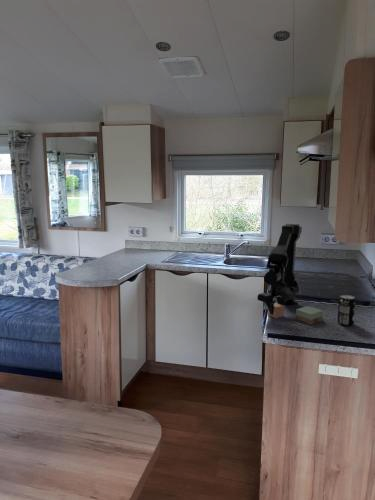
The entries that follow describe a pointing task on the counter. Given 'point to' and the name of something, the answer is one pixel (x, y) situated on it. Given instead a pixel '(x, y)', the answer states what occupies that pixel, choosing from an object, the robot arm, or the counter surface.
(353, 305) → the beverage can
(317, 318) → the walnut slab
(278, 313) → the tan cube
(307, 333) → the counter surface
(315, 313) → the sage slab
